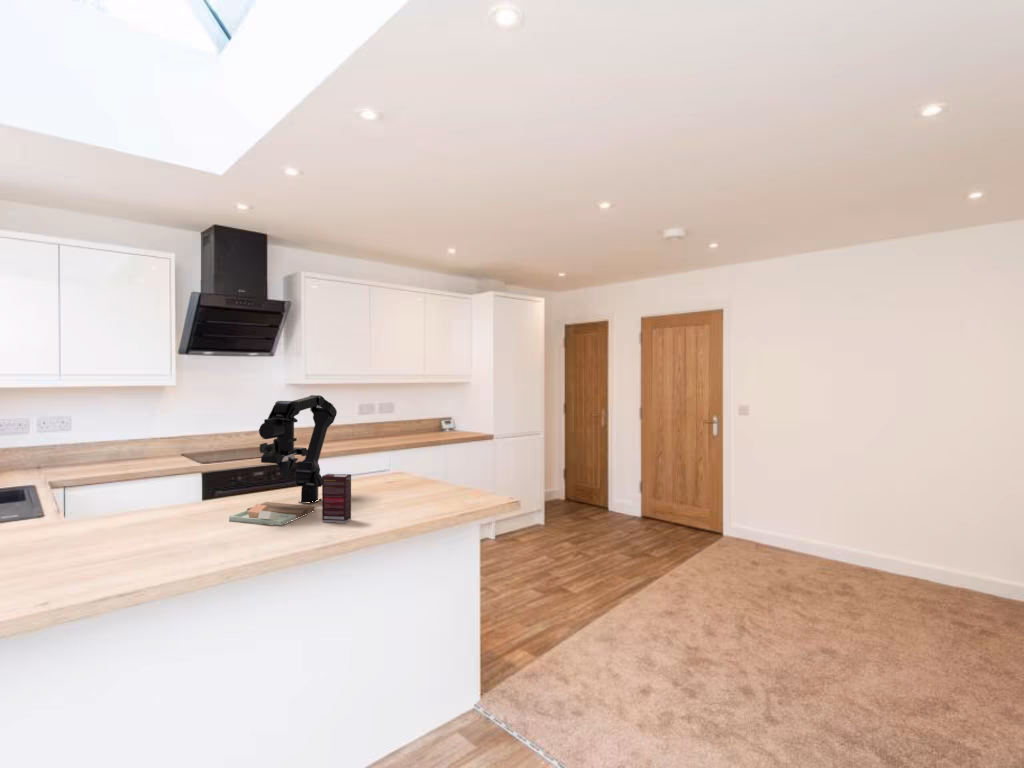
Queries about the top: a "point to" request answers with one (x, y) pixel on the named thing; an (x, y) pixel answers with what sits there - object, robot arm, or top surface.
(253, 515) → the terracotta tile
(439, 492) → the top surface
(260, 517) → the cream tile
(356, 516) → the top surface
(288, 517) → the green tray
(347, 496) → the supplement box
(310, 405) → the robot arm
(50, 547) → the top surface
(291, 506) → the walnut board
